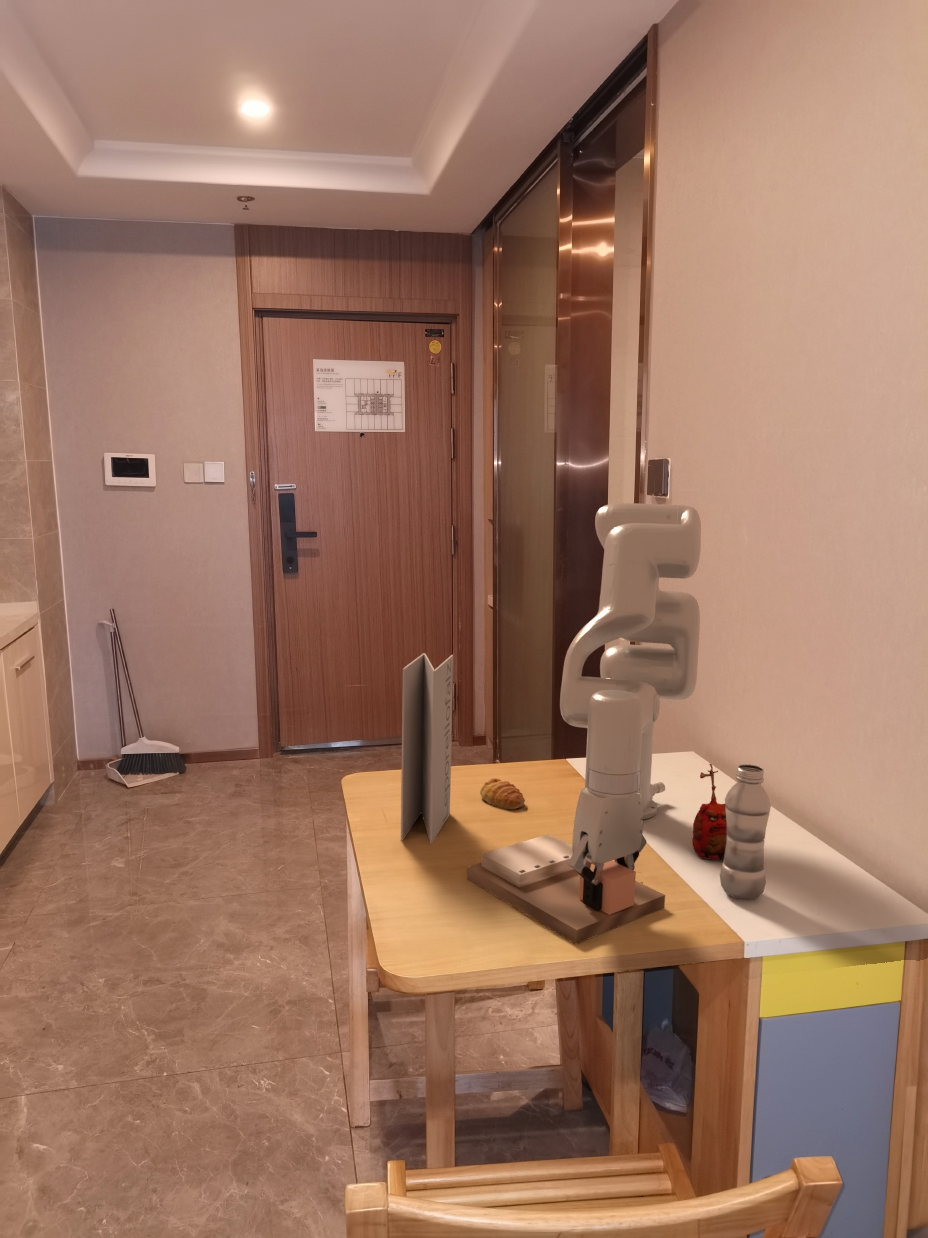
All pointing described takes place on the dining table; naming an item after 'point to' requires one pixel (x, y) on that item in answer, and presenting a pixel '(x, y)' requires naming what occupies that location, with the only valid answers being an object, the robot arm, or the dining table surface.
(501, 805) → the pastry
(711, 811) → the red clay folk toy
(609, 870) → the salmon upright block
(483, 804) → the dining table surface
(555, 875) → the wooden base board
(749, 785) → the plastic bottle
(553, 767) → the dining table surface
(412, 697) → the brochure
